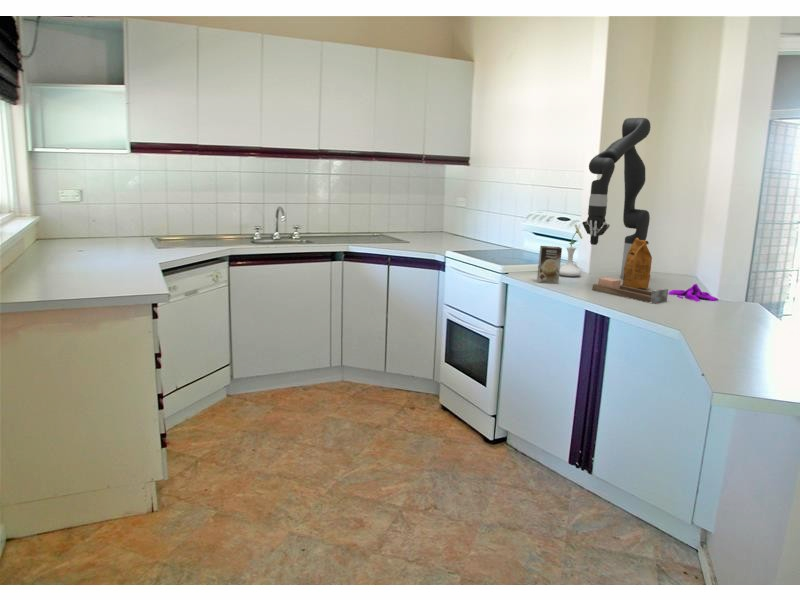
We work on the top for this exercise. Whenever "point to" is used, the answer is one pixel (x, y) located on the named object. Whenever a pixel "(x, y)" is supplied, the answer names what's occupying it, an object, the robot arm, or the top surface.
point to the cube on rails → (635, 293)
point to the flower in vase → (570, 260)
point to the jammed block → (610, 282)
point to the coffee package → (637, 266)
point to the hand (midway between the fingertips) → (593, 244)
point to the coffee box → (549, 264)
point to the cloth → (693, 294)
